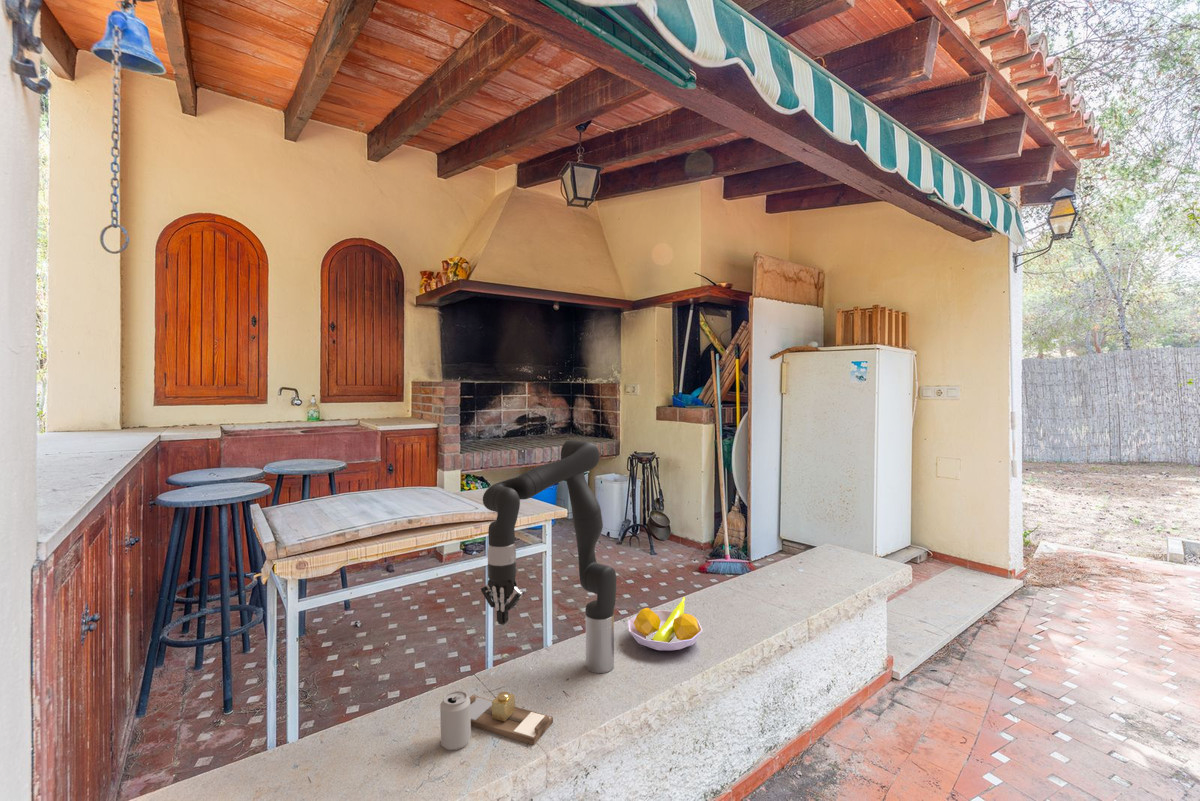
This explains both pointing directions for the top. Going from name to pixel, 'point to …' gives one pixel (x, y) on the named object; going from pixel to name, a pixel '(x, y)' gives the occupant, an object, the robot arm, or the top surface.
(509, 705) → the brass knob
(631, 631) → the fruit bowl
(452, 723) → the can
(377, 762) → the top surface
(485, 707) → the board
